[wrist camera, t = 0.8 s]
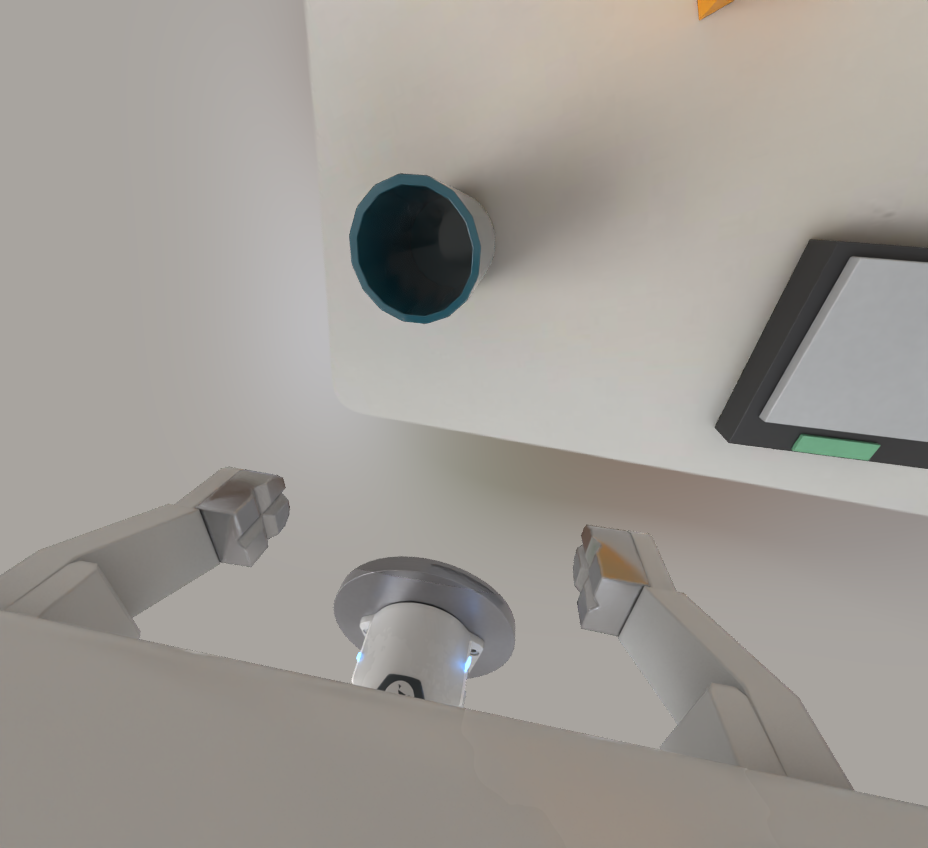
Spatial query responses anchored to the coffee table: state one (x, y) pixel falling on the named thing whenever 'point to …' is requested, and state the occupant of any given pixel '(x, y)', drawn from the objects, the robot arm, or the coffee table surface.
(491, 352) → the coffee table surface
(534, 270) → the coffee table surface
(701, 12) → the orange juice
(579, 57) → the coffee table surface
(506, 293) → the coffee table surface
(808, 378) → the scale
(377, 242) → the cup
